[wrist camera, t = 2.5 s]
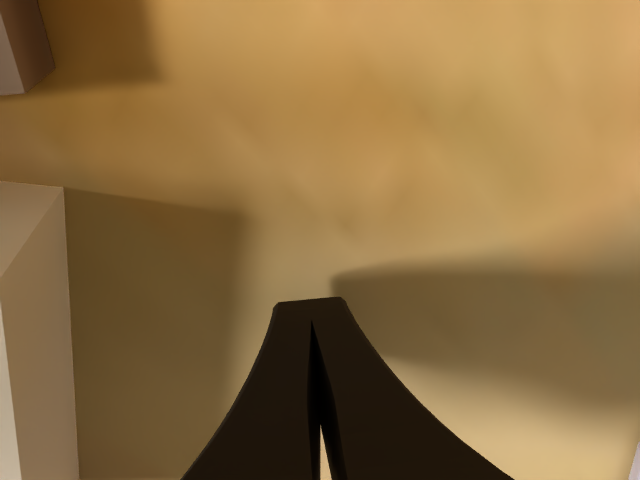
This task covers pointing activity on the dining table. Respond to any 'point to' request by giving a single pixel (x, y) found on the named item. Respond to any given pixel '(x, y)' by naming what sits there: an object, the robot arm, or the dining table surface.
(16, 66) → the guide rails
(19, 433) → the block
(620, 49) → the dining table surface
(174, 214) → the dining table surface
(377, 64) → the dining table surface
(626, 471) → the dining table surface
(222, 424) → the robot arm
